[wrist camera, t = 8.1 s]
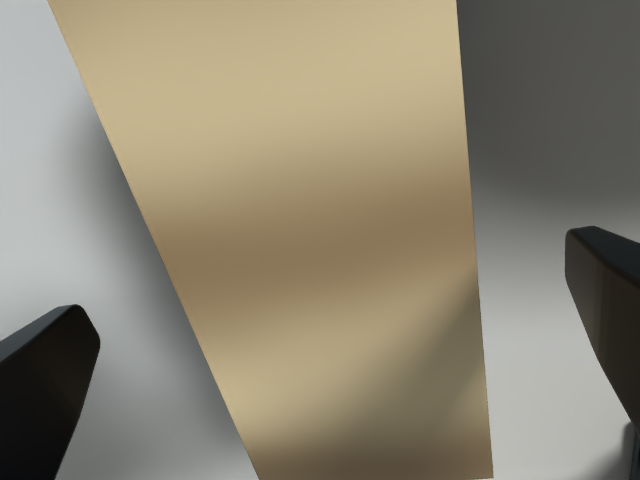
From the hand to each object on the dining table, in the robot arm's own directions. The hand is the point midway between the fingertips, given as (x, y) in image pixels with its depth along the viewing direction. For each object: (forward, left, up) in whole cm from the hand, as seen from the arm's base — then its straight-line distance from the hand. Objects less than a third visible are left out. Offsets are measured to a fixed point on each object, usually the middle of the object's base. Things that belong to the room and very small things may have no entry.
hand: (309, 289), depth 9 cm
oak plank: (0, 0, -4) cm, 4 cm away
